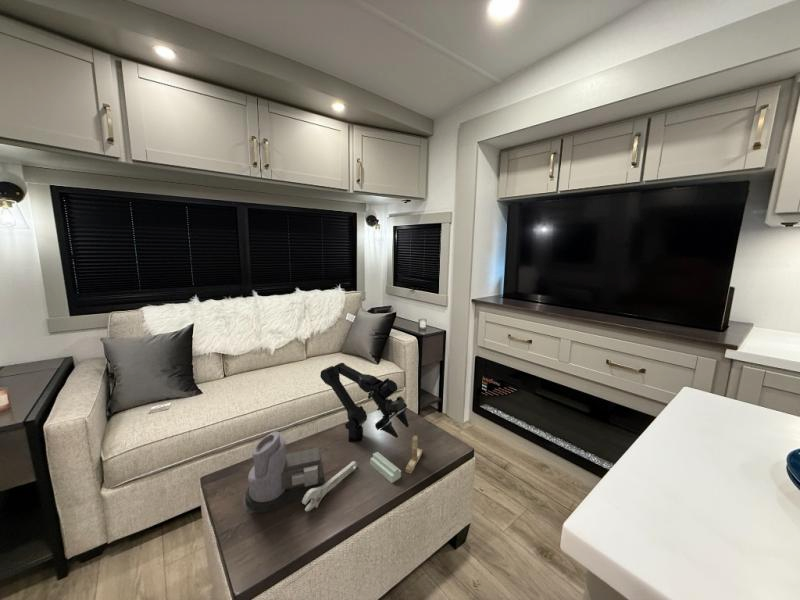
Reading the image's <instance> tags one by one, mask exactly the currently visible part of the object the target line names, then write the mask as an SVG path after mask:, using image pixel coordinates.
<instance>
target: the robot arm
mask: <svg viewBox="0 0 800 600" xmlns="http://www.w3.org/2000/svg"><path fill="white" fill-rule="evenodd" d="M340 376H343V377H345V378H347V379H348V380H349V381H352V382H354V383H356V384H357V385H358V387H359V388H360V389H361V390H362V391H363V392H365V393H367V394H368V396H367V399H368V400H371V399H372V400H373V402H374V403H375V405H376V406H377V408H376V410H377V411H379V412H381V413H382V418H381V419H379V420H378V421H377V422H375V424H374V425H375V426H374V427H375V429H376V430H377V431H383V432H385V433H387V434H389V435H391V436H392V437H394V438H396V439H397V438H399V435H398V433H397V431H396V430H395V428H394V427H393V425H392V422H393V421H392V420H390V419H392V418H393V417H394V416H396V418H397V419H398V420H399V421H400V422H401V423H402V424H403V425H404V426H405V427H406V428H408V427H409V426H410V425H409V422H408V419H407V415H406V414H407V413H406V412H407V410H408V409H407V407H408V404H407V403H406V402H405V400H404V398H403V397H402V396H401V395H400V396H397V397H396V400H394V401H393V399H392V398H390V396H392V395H393V394H394V393H396V392H397V391H398V385H397V383H396V382H395V381H394V380H391V379H389V377H387V378H386V379H384V380H382V379H379V378H377V377H376V376H374V375H372V374H366V373H362V372H360V371H358V370H356V369H354V368H352V367H351V366H348V365H347V364H346V363H344V362H340V363H337V364H335V365H331V366H328V367H326V368H325V369H322V370H321V371H320V375H319V377H320V379H321V380H322V381H323V382H324V384H325V385H327V386H329V387H331V389H332V390H333V392H334V393H335V394H336V396H337V398H338V400H339V401H340V403H341V404H342V405H343V407H344V409H345V411H346V414H347V419H348V422H346V423H345V424H344V427H345V429H347V430H348V439H347V440H348V442H361V441H363V438H364V426H363V425H364V424H365V423H366V421H367V420H368V414H367V411H366V410H365V409H364V407H363V406H362V405H360V406H359V405H357V404H356V403H355V402H354V400H353V399H352V397H351V396H350V394H349V392H348V391H347V389H346V388H345V386H344V385H343V383H342V381H341V378H340Z"/></svg>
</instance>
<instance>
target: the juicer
mask: <svg viewBox="0 0 800 600" xmlns="http://www.w3.org/2000/svg"><path fill="white" fill-rule="evenodd" d="M286 449H287V447H286V438H285V437H284V436H281V434H280V432H279V431H277V430H275V431H272V432H270V433H268V434H267V435H265V436H263V438H261V439H260V440H259V442H257V444H255V446H254V448H253V450H252V459H253V466H252V468H251V469H250V470H249V472H248V476H247V477H248V480H247V481H248V487H247V489H246V490H245V493H244V495H243V497H242V500H243V506H242V508H243V507H244V509H243V510H244V511H245V510H246V511H247V512H248V513H247V512H246V511H245V512H246V513H247V514H249V513H251V514H255V513H268V512H271V511H274V510H276V509H278V508H281V507H282V506H283V505H284V504H286V503H289V502H293V501H296V500H300V499H303V497H304V495H305V494H306V493H307V491H308V490H310V489H312V488H317V487H320V486H323V485H324V484H325V483H326V480H325V473H324V464H323V463H324V461H323V455H322V450H319V447H314V448H310V449H305V450H301V451H294V452H290V453H287V450H286ZM254 512H255V513H254Z"/></svg>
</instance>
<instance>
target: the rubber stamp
mask: <svg viewBox="0 0 800 600" xmlns="http://www.w3.org/2000/svg"><path fill="white" fill-rule="evenodd" d="M418 439H419V436H418V435H417V434H416V435H415V434H414V435H412V437H411V459H410V460H409V461H408V463H407V465H406V467H405V473H408V474H409V475H410V474H411V475H412V472H413V471H414V470H415V467H416V465H417V463H418V462H419V460H420V458H421V456H422V455H423V449H421V448H418V446H419V445H418V444H419V443H418V441H419V440H418Z"/></svg>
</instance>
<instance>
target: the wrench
mask: <svg viewBox="0 0 800 600" xmlns="http://www.w3.org/2000/svg"><path fill="white" fill-rule="evenodd" d="M357 466H358V462H357V461H355V460H353V461H351V462H350V463H348V464H347V465H346V466H345V467H344V468H342V469H341V470H340V471H339V472H338V473H336V474H335V475H334V476H332V477H331V478H330V479H329V480H328V481H327V482H326V481H325V484H324V485H323V486H320V487H317V488H312V489H310V490H308V491H307V493H306V494H305V495H304V497H303V498H302V500H301V503H302V504H304V505H305V508H304V511H305V512H309V511H311V510H313V509H314V508H318V506H319V504H320V503H321V502H322V501H321V500H322V499H323V498H324V496H325V495H326V494H327V493H329V492H330V490H331V489H333V488H335V486H336V485H339V483H340V482H342V481H343V479H345V478H346V477H347V476H348V475H350V474H351V473H353V472H354V471H355V470H356V468H357ZM309 501H310V502H309Z"/></svg>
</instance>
